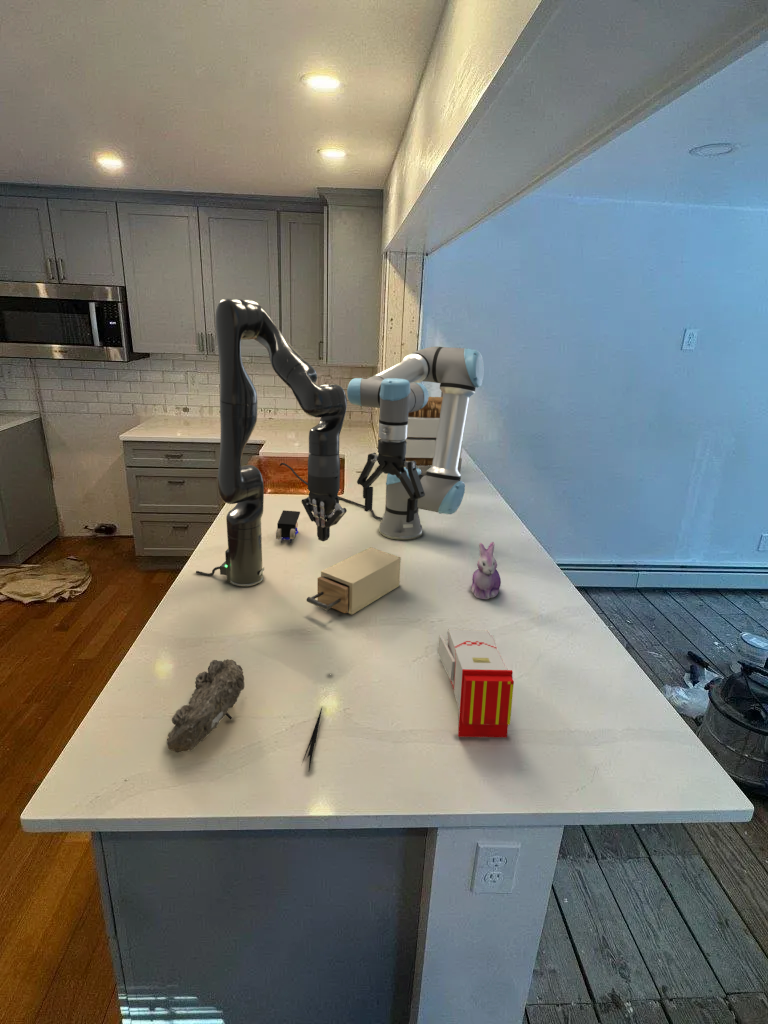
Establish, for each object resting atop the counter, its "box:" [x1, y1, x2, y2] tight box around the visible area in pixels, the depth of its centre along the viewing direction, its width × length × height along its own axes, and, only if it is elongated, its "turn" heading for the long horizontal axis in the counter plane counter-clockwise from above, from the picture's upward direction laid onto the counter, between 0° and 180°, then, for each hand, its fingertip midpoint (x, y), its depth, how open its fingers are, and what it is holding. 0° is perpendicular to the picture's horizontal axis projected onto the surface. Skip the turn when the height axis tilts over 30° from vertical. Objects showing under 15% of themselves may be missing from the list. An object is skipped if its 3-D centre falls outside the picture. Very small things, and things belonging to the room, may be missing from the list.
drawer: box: [305, 576, 349, 614], centre depth 151 cm, size 26×10×7 cm, turn 143°
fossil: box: [166, 658, 245, 754], centre depth 106 cm, size 22×10×15 cm
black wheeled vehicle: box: [275, 509, 301, 544], centre depth 191 cm, size 7×8×15 cm
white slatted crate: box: [405, 391, 464, 475], centre depth 268 cm, size 34×33×41 cm
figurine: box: [470, 541, 502, 600], centre depth 158 cm, size 9×10×15 cm
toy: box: [437, 628, 515, 738], centre depth 117 cm, size 12×13×30 cm
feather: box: [301, 673, 332, 771], centre depth 108 cm, size 2×28×2 cm
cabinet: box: [320, 547, 402, 616], centre depth 156 cm, size 21×11×9 cm, turn 143°
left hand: (323, 539), depth 138 cm, fingers closed
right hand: (388, 515), depth 156 cm, fingers open, 13 cm apart
